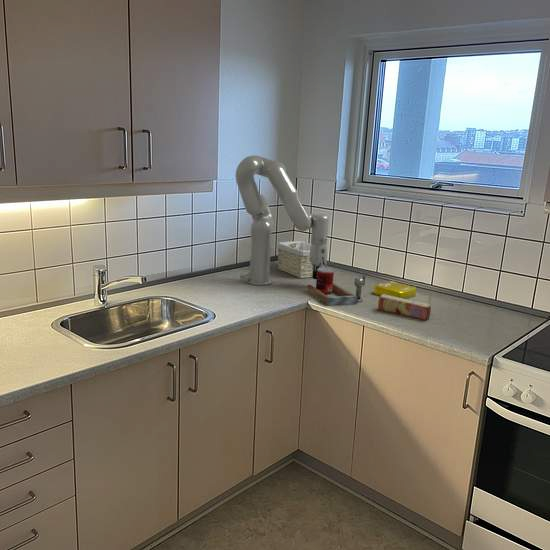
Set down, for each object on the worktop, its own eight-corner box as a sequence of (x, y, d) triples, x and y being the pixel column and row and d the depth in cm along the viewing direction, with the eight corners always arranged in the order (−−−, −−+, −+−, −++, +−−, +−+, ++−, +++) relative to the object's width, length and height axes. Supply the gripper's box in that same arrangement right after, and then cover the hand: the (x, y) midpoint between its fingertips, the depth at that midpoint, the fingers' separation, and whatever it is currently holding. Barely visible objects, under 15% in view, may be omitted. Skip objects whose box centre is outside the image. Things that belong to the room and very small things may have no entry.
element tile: (399, 302, 249) (401, 291, 248) (372, 294, 259) (373, 284, 258) (416, 296, 260) (418, 286, 258) (389, 289, 269) (390, 279, 268)
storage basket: (274, 268, 295) (276, 241, 291) (300, 266, 303) (301, 240, 300) (299, 280, 275) (301, 251, 272) (325, 277, 284) (328, 249, 280)
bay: (328, 305, 236) (329, 298, 235) (306, 291, 256) (307, 283, 256) (357, 303, 241) (357, 296, 240) (333, 289, 262) (334, 282, 261)
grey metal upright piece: (355, 302, 243) (358, 277, 240) (351, 299, 247) (353, 275, 244) (364, 301, 245) (367, 277, 242) (360, 299, 249) (362, 274, 246)
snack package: (430, 317, 229) (432, 302, 228) (426, 321, 224) (428, 306, 222) (381, 307, 239) (383, 292, 238) (376, 311, 234) (377, 295, 232)
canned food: (332, 290, 259) (333, 268, 257) (332, 295, 252) (334, 272, 249) (315, 289, 260) (317, 266, 257) (315, 294, 252) (317, 270, 250)
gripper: (333, 243, 253) (330, 282, 258) (319, 237, 267) (316, 274, 271) (318, 244, 250) (315, 283, 255) (304, 237, 264) (302, 275, 268)
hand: (316, 278), depth 263 cm, fingers closed
